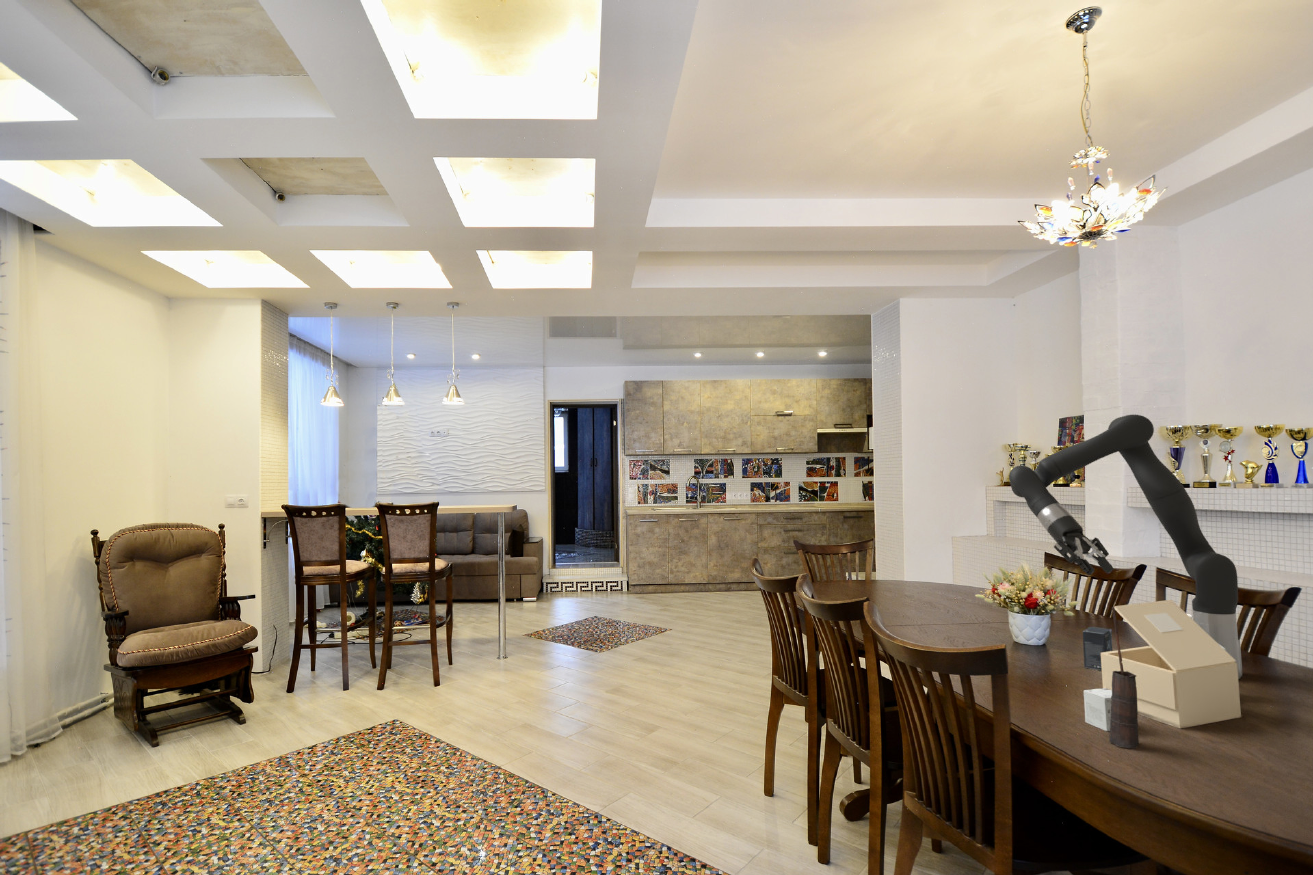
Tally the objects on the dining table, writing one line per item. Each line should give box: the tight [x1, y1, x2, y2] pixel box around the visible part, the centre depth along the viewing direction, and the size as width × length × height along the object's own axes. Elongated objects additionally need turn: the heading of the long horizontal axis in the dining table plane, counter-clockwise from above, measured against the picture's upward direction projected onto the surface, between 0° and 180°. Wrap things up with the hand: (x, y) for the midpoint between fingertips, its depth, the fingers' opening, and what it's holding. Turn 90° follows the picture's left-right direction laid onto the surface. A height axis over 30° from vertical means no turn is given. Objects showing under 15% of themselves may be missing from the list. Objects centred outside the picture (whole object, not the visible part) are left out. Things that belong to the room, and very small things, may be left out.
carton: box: [1101, 645, 1242, 730], centre depth 162 cm, size 20×18×12 cm
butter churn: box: [1108, 606, 1140, 749], centre depth 142 cm, size 9×10×28 cm
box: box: [1082, 626, 1113, 671], centre depth 197 cm, size 8×6×11 cm
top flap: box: [1113, 599, 1236, 672], centre depth 160 cm, size 19×18×1 cm
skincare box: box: [1083, 687, 1112, 732], centre depth 153 cm, size 6×6×7 cm
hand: (1101, 572), depth 178 cm, fingers open, 5 cm apart
